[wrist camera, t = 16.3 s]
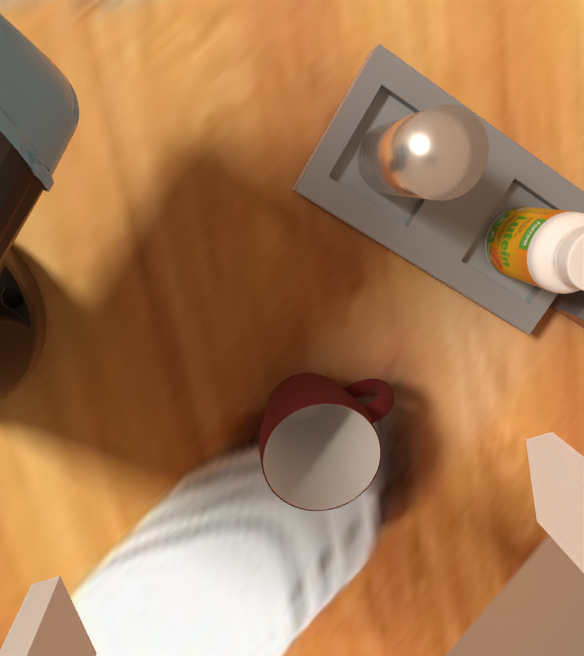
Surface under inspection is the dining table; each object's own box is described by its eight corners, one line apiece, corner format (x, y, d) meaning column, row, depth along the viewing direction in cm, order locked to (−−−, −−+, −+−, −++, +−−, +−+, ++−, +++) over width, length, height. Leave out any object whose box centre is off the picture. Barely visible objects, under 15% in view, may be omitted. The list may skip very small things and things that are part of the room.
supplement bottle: (490, 202, 40) (569, 209, 31) (555, 210, 41) (651, 219, 32) (475, 272, 42) (547, 299, 33) (539, 278, 43) (626, 307, 33)
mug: (345, 318, 43) (379, 359, 34) (390, 395, 46) (434, 454, 36) (235, 385, 44) (237, 443, 34) (285, 458, 46) (300, 532, 37)
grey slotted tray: (291, 189, 40) (295, 190, 38) (369, 52, 38) (379, 43, 36) (513, 326, 45) (529, 334, 43) (592, 211, 43) (613, 213, 41)
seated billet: (344, 171, 39) (383, 170, 29) (381, 108, 38) (434, 85, 28) (400, 207, 40) (455, 217, 30) (437, 146, 39) (506, 137, 29)
